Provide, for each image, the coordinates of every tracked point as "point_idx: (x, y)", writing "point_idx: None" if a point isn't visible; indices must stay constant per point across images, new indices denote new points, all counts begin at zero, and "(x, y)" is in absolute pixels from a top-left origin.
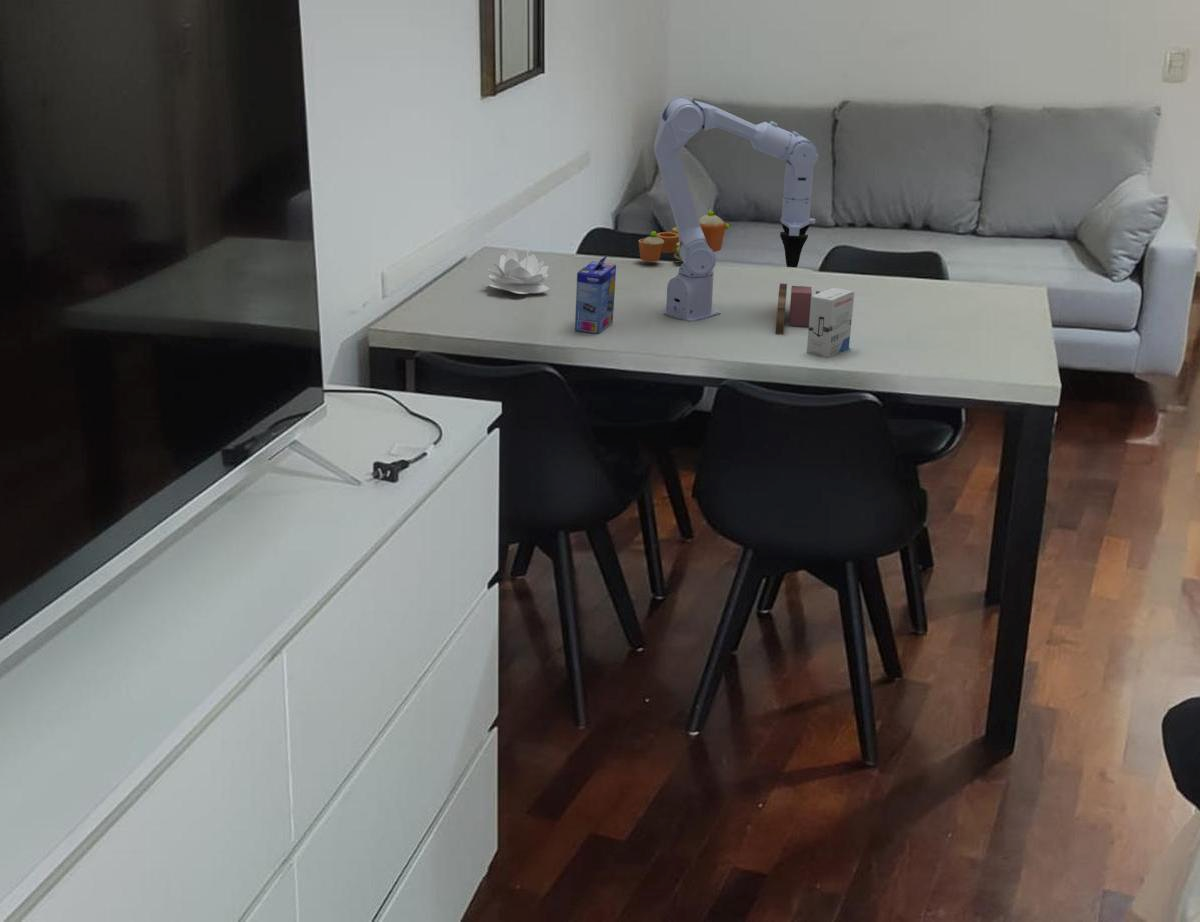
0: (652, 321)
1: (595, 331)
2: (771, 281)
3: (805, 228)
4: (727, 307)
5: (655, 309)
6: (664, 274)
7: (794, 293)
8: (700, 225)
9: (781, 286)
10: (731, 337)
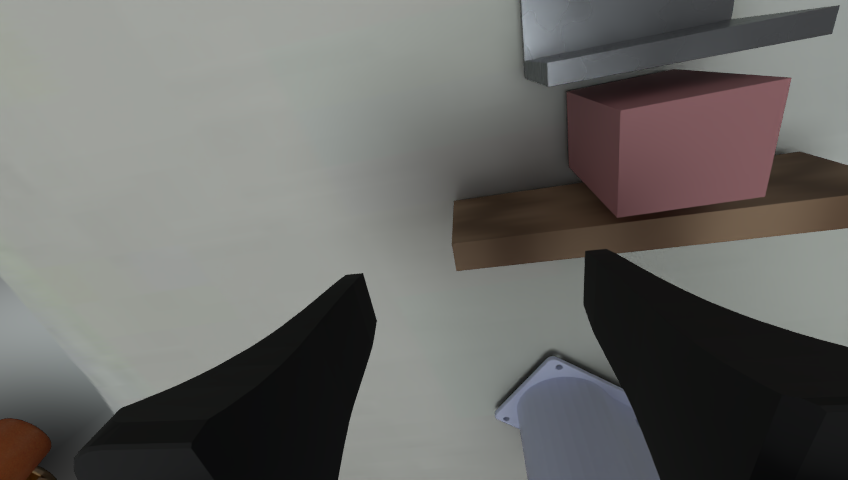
0: None
1: None
2: (144, 284)
3: (238, 428)
4: (453, 345)
5: None
6: None
7: (764, 179)
8: None
9: (505, 258)
10: (765, 297)
